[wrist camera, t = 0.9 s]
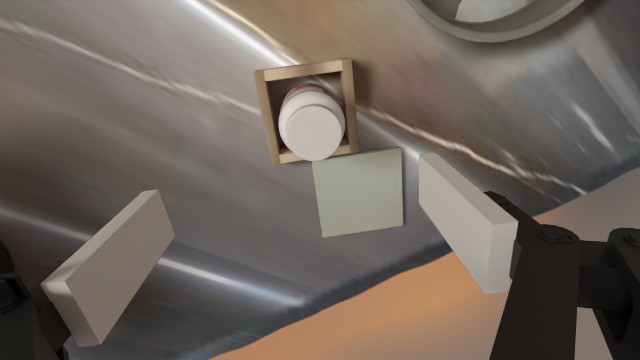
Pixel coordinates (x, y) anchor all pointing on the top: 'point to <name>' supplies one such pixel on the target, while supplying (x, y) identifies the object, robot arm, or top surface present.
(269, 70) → the pocket frame
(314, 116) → the pill bottle
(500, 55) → the top surface
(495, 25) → the cake pan
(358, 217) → the coaster
